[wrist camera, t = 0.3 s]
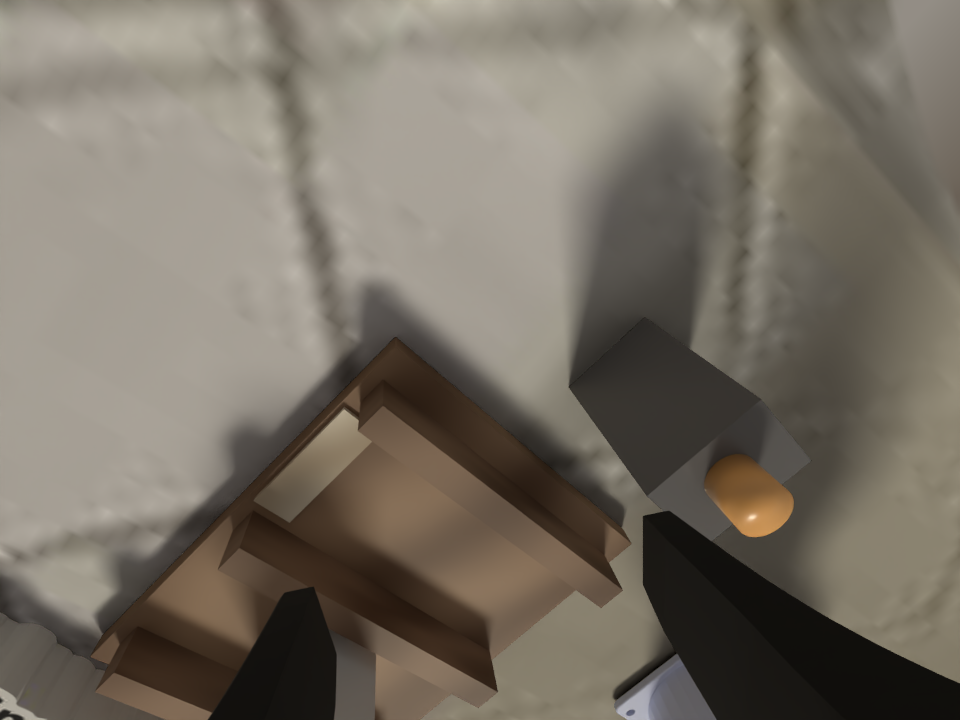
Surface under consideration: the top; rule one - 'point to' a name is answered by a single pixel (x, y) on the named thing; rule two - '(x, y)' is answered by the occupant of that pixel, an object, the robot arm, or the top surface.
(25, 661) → the decorative sign
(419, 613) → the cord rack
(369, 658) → the grey plug
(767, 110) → the top surface
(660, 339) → the charcoal plug
